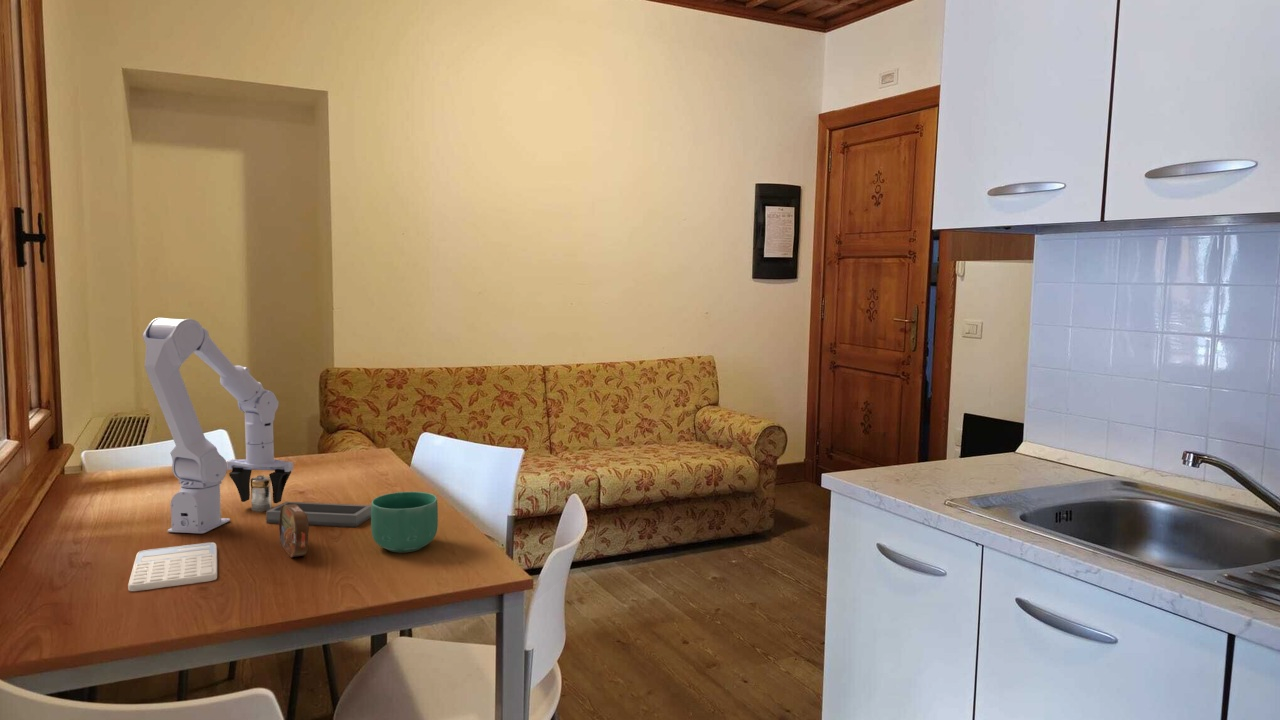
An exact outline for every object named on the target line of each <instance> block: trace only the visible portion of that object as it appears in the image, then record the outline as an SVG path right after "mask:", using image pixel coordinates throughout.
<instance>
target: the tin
mask: <svg viewBox="0 0 1280 720" xmlns="http://www.w3.org/2000/svg"><path fill="white" fill-rule="evenodd" d="M278 526H279V528H278V529H279V530H278V531H279V542H280V544H281V547H282V549H283V550H284V551H285V552H286V554H287V555H288V557H289V558H291V559H292V558H294V557H295V558H296V557H303V556H306V554H307V553H308V551H309V530H310V525H309V523H308V518H307V515H306V513H305V512H304V511H303V510H302V509H301V508H300V507H299V506H298V505H296V504H293V505H282V507H281V511H280V520H279V525H278Z"/></svg>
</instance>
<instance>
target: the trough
mask: <svg viewBox="0 0 1280 720" xmlns="http://www.w3.org/2000/svg"><path fill="white" fill-rule="evenodd" d="M293 504H296V505H298V506H299V507H300V508H301V509H302V510H303V511H304V512H305V513H306V515H307V518H308V523H309V526H321V527H323V526H324V527H325V526H326V527H342V528H343V527H345V528H346V527H347V528H357V527H359V526H361V525H362V524H363V523H366V521H368V520H369V519H370V520H371V504H370V505H367V504H347V503H346V504H343V503H326V502H324V503H322V502H321V503H320V502H303V501H301V502H300V501H284V502H282V503H281V504H278V505H277V506H274V507H273V508H272V507H271V509H270V510H266V512H265V514H266V517H265V518H266V519H265V520H266V524H279V520H280V511H281V507H282V505H293Z"/></svg>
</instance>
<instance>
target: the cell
mask: <svg viewBox="0 0 1280 720" xmlns="http://www.w3.org/2000/svg"><path fill="white" fill-rule="evenodd" d="M250 489H251V490H250V497H251V511H253V512H265V511H268V510H270V509H272V494H271V493H272V491H271V489H272V483H271V479H270V476H265V475H263V474H261V475H260V474H259V475H257V476H255V477H251V478H250Z"/></svg>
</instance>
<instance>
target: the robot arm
mask: <svg viewBox="0 0 1280 720" xmlns="http://www.w3.org/2000/svg"><path fill="white" fill-rule="evenodd" d="M141 336H142V339H143V342H144V345H145V354H144V355H145V356H144V357H145V358H144V369H145V372H146V374H147V377H148V381H149V382H150V384H151V387H152V389H153V392H154V394H155V396H156V397H155V398H156V400H157V401H158V404H159V407H160V410H161V412H162V414H163V417H164V419H165V422H166V425H167V427H168V429H169V432H170V434H171V437H172V440H173V442H174V444H175V446H174V448H172V450H171V451H170V457H171V459H172V463H171V465H172V466H171V470H172V473H173V475H174V476H175V478H176V479H178V484H179V485H180V488H179V491H178V492H176V493H175V494H174V495H173V496H172V498H171V500H170V523H171V525H170V526H171V527H170V528H169V529H167V533H182V534H183V533H184V534H185V533H187V534H205V533H208V532H210V531H212V530H213V529H216V528H218V527H221V526H222V525H224V524H226V523H228V522H230V521H231V518H228V517H226V518H225V517H222V511H221V510H222V507H221V484H222V483H223V482H222V481H223V480H224V478H225V477H226V476H227V472H228V470H231V471H229V473H228V476H229V478H231V480H232V482H233V483H234V485H235V487H236V489H237V492H238V494H239V498H240V502H241V503H245V502H247V501H249V500H250V497H251V490H250V489H251V476H252V471H273V472H271V473H269V474H268V475H269V476H268V477H270V479H271V489H272V501H273V504H278V503H281V501H282V498H283V493H284V489H285V486H286V484H287V482H288V480H289V478H290V476H291V473H292V471H294V462H293V461H286V460H280V459H275V450H274V449H275V448H274V422H275V419H276V418H275V416H276V412H277V410H278V408H279V403H280V401H279V400H278V399H277V397H276V395H275V393H274V392H273V391H271V390H268V389H265V388H264V387H263V384H262V383H261V382H260V381H258V380H257V379H256V378H254V377H253V376H252V375H251V373H250V372H251V370H250V369H249V368H248V367H247V366H243V365H238V364H237V365H234V364H233V363H232V361H230V359H229V358H228V357H227V356H226V355H225V353H224V352H223V351H222V350H221V348H219V346H218V345H217V344H216V343H215V342H214V340H213V339H212V338H211V337H210V332H209V330H207V329H206V328H205V327H203V325H202V324H201V323H200V322H199V321H197V320H195V319H193V318H185V319H184V318H183V319H182V318H167V317H157V318H154V319H152V320H151V321H150V322H149V323H148V324H147V326H146V328H145V330H144V331H143V333H142V335H141ZM192 354H194V355H196V357H198V358H199V359H200V360H201V361H202V362H204V363H205V364H206V365H207V366H208V367H210V369H212V371H214V372H215V373H216V374H217V375H219V376H220V377H219V384H220V385H221V386H222V388H224V389H225V391H227V392H228V393H229V394H230V395H231V396H232V397H233V398H234V399H235V400H237V401H236V402H237V407H238V410H239V411H241V412H242V413H244V431H245V432H244V434H245V458H244V459H243V458H242V459H240V458H239V459H233V458H232V459H230V460H228V461H226V459H225V457H224V456H222V455H221V454H220V453H219V451H218V449H217V447H216V445H214V444H213V443H212V442H211V441H209V440H208V439H207V438H206V437H205V433H204V432H203V428H202V426H201V424H200V421H199V419H198V415H197V413H196V410H195V408H194V405H193V403H192V401H191V398H190V397H191V396H190V395H189V392H188V390H187V387H186V385H185V382H184V380H183V376H182V374H181V372H180V369H181V367H182V365H183V364H184V363H185V362H186V361H187V359H189V358H190V356H191V355H192Z"/></svg>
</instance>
